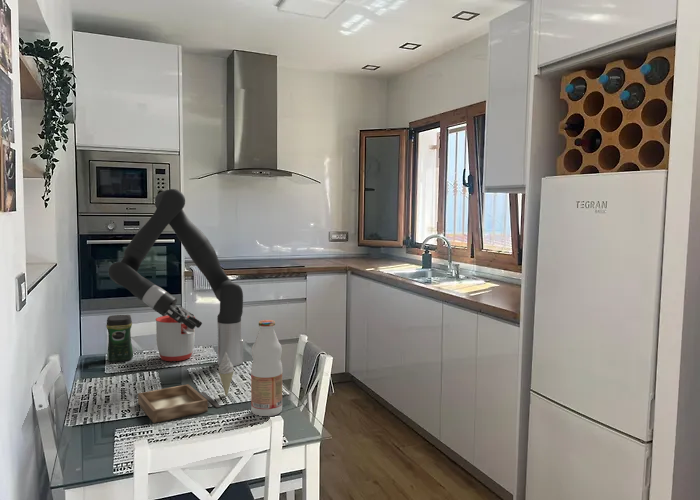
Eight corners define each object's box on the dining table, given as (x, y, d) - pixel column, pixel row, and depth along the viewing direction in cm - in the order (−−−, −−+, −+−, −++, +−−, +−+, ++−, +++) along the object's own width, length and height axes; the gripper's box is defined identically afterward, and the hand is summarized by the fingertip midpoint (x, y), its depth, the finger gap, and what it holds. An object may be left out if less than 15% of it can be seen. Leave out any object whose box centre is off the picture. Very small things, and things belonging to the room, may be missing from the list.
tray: (202, 391, 176) (202, 381, 176) (222, 408, 161) (222, 397, 161) (138, 404, 164) (138, 393, 164) (153, 423, 149) (153, 411, 149)
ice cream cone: (219, 393, 175) (219, 349, 174) (235, 392, 175) (234, 349, 174) (217, 398, 170) (216, 353, 169) (232, 398, 170) (232, 353, 169)
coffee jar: (133, 356, 218) (133, 312, 217) (131, 361, 211) (131, 316, 210) (108, 358, 215) (107, 313, 214) (105, 363, 208) (104, 317, 207)
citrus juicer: (175, 366, 204) (175, 316, 203) (148, 359, 214) (147, 311, 213) (206, 357, 218) (206, 310, 216) (179, 351, 227) (178, 306, 226)
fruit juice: (256, 419, 153) (255, 325, 151) (247, 408, 161) (247, 319, 159) (286, 414, 157) (286, 323, 155) (276, 404, 165) (276, 317, 164)
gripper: (159, 291, 176) (199, 318, 176) (171, 291, 190) (208, 316, 190) (146, 309, 175) (186, 337, 175) (159, 308, 189) (196, 333, 189)
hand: (197, 326), depth 182 cm, fingers open, 8 cm apart
